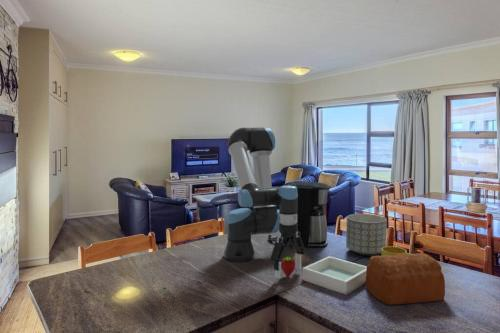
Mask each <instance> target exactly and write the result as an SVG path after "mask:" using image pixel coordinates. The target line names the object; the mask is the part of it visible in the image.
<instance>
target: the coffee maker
mask: <svg viewBox="0 0 500 333" xmlns="http://www.w3.org/2000/svg"><path fill="white" fill-rule="evenodd" d="M287 186H295V187H297V193H298V205H297V232H300V233H301V239H302V242H303V245H304V248H310V247H311V248H325V247H326V246H327V245H328V241H329V240H328V225H327V218H326V213H325V210H324V208H323V206H326V204H327V202H328V196H329V191H330V189H331V188H332V186H330V185H329V184H327V183H323V182H316V181H308V180H307V181H305V180H304V181H303V180H302V181H301V180H295V181H290V182H289V183H288V184H287ZM267 235H268V237H267V239H268V240H269V241H270V242H274V243H275V239H276V237H272V234H267ZM290 246H291V247H293V246H292V245H290Z"/></svg>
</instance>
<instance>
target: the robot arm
mask: <svg viewBox="0 0 500 333" xmlns="http://www.w3.org/2000/svg"><path fill="white" fill-rule="evenodd" d="M275 148H276V137H275V134H274V131H273V130H272V129H271V128H269V127H262V126H261V127H240V128H238V129H235V130H234V131H233V132H232V133H231V134H230V136H229V138H228V141H227V151H228V153H229V154H228V155H230V156H231V157H232V161H233V165H234V169H235V172H236V175H237V179H238V180H237V181H238V183H239V187H240V189H239V191H238V193H237V201H238V204H239V206H240V207H241V208H236V209H232V210H230V211H229V212H228V213H227V219H226V223H227V226H226V229H227V242H226V246H225V249H224V252H223V257H224V259H226V261H231V262H235V263H240V262H241V263H242V262H247V261H248V262H249V261H251V260H253V259H255V257H256V253H255V252H256V251H255V249H254V245H253V242H252V236H256V235H258V236H259V235H272V234H276V233H278V231H279V233H280V234H281V235H280V236H276V237H275V238H276V239H274V240H275V242H274V246H273V248H272V249H273V250H272V252H271V255H270V259H269V260H270V262H272V263H273V270H274V278H277V279H282V267H281V262H282V260H281V259H282V258H283V255H284V253H285V251H286V249H287V248H288V247H290V246H291V245H292V246H291V247H292V248H293V249H294V251H295V252H296V253H295V254H294V259H295V260H294V262H295V268H294V269H297V270H300V271H301V270H302V259H303V258H302V257H303V256H302V255H304V254H305V252H306V247H304V245H303V242H302V239H301V233H300V232H297V205H298V193H297V187H295V186H288V185H282V186H274V187H273V185H272V174H271V171H272V170H271V161H270V160H271V159H270V156H271V155H272V153H273V151H274V150H275ZM248 151H249V152H248ZM248 154H249V155H250V156H251V157H252V164H253V165H252V164H251V161H250V157H249V155H248ZM252 166H253V167H252ZM277 206H278V207H279V209H278V208H277ZM251 208H253V210H252V209H251Z"/></svg>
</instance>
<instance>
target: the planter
mask: <svg viewBox="0 0 500 333" xmlns="http://www.w3.org/2000/svg"><path fill="white" fill-rule="evenodd" d="M387 223H388V222H387V218H386V217H385V216H381V215H376V214H371V213H370V214H368V213H352V214H349V215H347V216H346V230H345V231H346V240H345V243H346V244H345V246H346V248H347V249H348V250H350V251H352V252H353V253H355V254H357V255H359V256H364V257H372V256H377V255H378V254H381V249H382V248H383V247H387V226H388V224H387Z"/></svg>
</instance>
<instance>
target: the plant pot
mask: <svg viewBox="0 0 500 333" xmlns="http://www.w3.org/2000/svg"><path fill="white" fill-rule="evenodd" d="M380 254H381V255H380V256H385V255H397V254H408V252H407V249H405V248H402V247H399V246H393V245H392V246H391V245H390V246H387V245H386V247H383V248H382V249H381V253H380Z"/></svg>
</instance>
